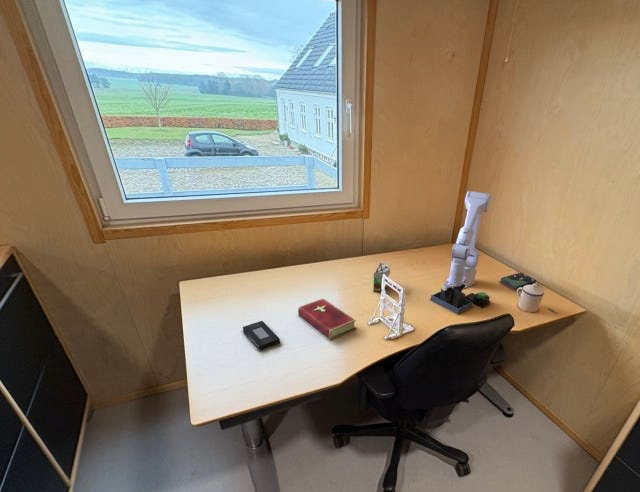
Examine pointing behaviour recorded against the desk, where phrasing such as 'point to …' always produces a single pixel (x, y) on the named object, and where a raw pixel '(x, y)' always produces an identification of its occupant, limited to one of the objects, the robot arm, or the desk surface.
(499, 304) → the desk surface
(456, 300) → the dark grey block
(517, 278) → the disk drive
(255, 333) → the vhs tape
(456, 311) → the open rectangular tray
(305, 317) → the hardcover book
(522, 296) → the teacup with lid
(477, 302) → the panel
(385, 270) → the food container
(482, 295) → the button
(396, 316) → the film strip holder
